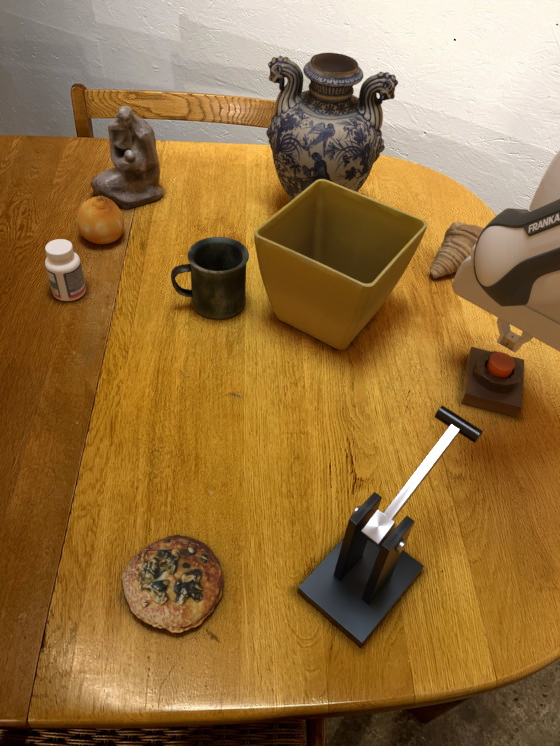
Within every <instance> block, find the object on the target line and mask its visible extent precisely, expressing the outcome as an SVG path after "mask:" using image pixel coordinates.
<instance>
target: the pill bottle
mask: <svg viewBox="0 0 560 746" xmlns="http://www.w3.org/2000/svg"><path fill="white" fill-rule="evenodd" d="M44 251H45V255H46V258H45V261H44V266H45V270H46V275H47V278H48V281H49V286H50V290H51V293H52V296H53V297H54V298H56V299H57V300H59V301H62V302H73V301H76V300H79V299H80V298H83V297H84V295H85V293H86V291H87V286H86V281H85V277H84V272H83V267H82V262H81V259H80V256H79V254H78V253H77V252H75V249H74V246H73V243H72V242H71V241H70V240H68V239H65V238H57V239H54V240H50V241H49V242H47V244H46V245H45V247H44Z"/></svg>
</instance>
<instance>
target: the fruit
mask: <svg viewBox="0 0 560 746" xmlns="http://www.w3.org/2000/svg"><path fill="white" fill-rule="evenodd" d="M76 227H77V230H78V232H79V233H80V235H81V237H82V238H83V239H85V240H86V241H88V242H90V243H92V244H96V245H108V244H112V243H114V242H116V241H118V240H119V239H120V238H121V236H122V235H123V232H124V229H125V217H124V214H123V212H122V211H121V208H120V207H118V206H117V205H116V204H115V203H114V202H113V201H112V200H110V199H109V198H107V197H104V196H97V197H96V196H93V197H91V198H88V199H87V200H85V201H84V202H83V203H82V204H81V205H80V207H79V209H78V211H77V214H76Z"/></svg>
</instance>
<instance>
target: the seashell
mask: <svg viewBox="0 0 560 746" xmlns="http://www.w3.org/2000/svg"><path fill="white" fill-rule="evenodd" d="M484 228H485V227H481V226H480V225H475V224H468V223H466V222H461V221H455V222H453V223H451V224H450V226H449V227H448V228H447V229H446V231H445V233H444V237H443V240H442V242H441V243H440V244H441V245H440V247H439V248H438V250H437V252H436V254H435V256H434V259H433V261H432V263H431V266H430V267H429V273H430V275H431V278H432V279H433V280H434V279H438V278H442V277H445V276H446V275H451V274H453V273H457V271H458V269H459V267H460V265H461V264H462V262H463V261H464V260H465V259H466V258H467V257H469V256H470V254H471V250H472V248H473V246H474V245H475V244H476V243H477V240H478V237H479V235H480V234H481V232H482V230H483V229H484Z"/></svg>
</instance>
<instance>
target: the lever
mask: <svg viewBox="0 0 560 746" xmlns="http://www.w3.org/2000/svg"><path fill="white" fill-rule="evenodd" d="M434 418H435V419H436V420H438V421H439V422H441V423H442V424H444V425H445V426H447V429H446V430H445V431H444V433H442V435H441V437H440V438H439V439H438V440H437V442H436V443H435V444H434V446H433V447H432V448H431V449H430V451H429V452H428V453H427V455H426V456H425V457H424V459H423V460H422V461H421V463H420V464H419V465H418V467H417V468H416V469H415V471H414V472H413V473H412V475H410V477H409V479H408V480H407V481H406V482H405V484H404V485H403V486H402V487H401V489H400V490H399V492H398V493H397V494H396V495H395V497H394V498H393V499H392V501H391V502H390V503H389V505H388V506H387V507H386V508H385V510H384V511H383V512H382V511H381V510H380V509H379V508H378V509H377V510H376V512H375V513H374V514H373V516H372V517H371V518H370V520H369V521H368V522H367V523H366V525H365V526H364V527H363V529H362V530H361V532H362V534H363V536H364V537H365V538H366V539H368V540H369V541H370V542H372V543H373V544H374V545H375V546H377V547H378V548H379V549H380V547H381V544H382V543H383V542H384V541H385V540H386V539H387V537H388V536H389V535H390V534H391V533H392V532H393V531H394V529H395V528H396V527H397V526H396V525H397V524H396V522H395V521H394V520H395V519H396V517H397V516H398V515H399V513H400V512H401V511H402V510H403V508H404V507H405V506H406V504H407V503H408V502H409V501H410V499H411V498H412V496H414V494H415V492H416V491H417V490H418V488H419V487H420V486H421V484H422V483H423V482H424V481H425V480H426V478H427V477H428V475H429V474H430V473H431V471H432V470H433V468H435V466H436V464H437V463H438V462H439V460H440V459H442V457H443V455H444V454H445V453H446V452H447V450H448V449H449V448H450V447H451V445H452V443H453V442H454V441H455V440H456V438H457V437H458V436H459V435H461V436H462V437H464V438H465V439H467V440H469V441H470V442H472V443H473V444H476V443H477V442H478V441H479V440H480V439H481V437H482V435H483V434H484V431H483V430H482V429H481V428H479V427H478V426H476V425H475V424H472V423H471V422H470V421H468V420H467V419H465V418H464V417H462V416H460V415H459V414H457V413H456V412H454V411H453V410H451V409H449V408H448V407H446V406H444V405H441V406H439V408H438V409H437V411H436V412H435V414H434Z"/></svg>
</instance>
